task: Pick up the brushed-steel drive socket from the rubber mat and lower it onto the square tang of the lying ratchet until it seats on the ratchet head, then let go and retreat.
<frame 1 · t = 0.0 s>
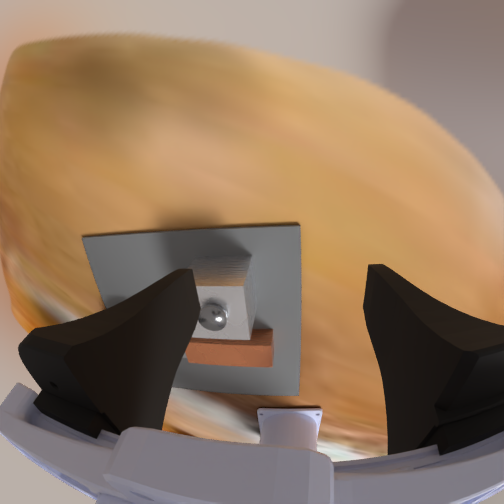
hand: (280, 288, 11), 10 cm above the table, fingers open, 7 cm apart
socket: (227, 281, 23), resting on mat
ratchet: (144, 333, 27), resting on mat
mat: (195, 328, 26), on the table
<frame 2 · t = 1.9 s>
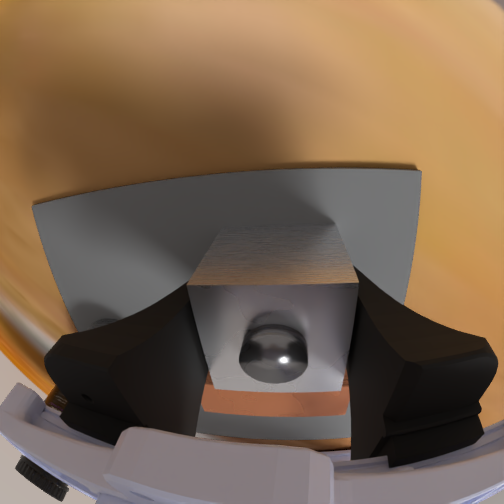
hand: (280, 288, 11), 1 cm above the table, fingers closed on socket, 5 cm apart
supplement bottle: (90, 394, 21), on the table
socket: (281, 275, 12), resting on mat, touching gripper
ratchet: (130, 359, 16), resting on mat
mat: (214, 355, 15), on the table
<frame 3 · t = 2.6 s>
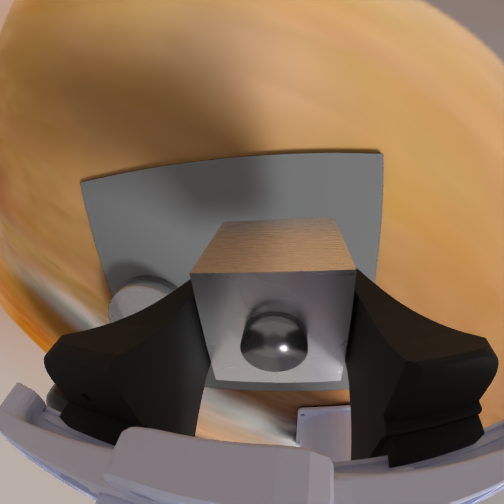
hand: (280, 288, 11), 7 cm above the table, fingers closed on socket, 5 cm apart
supplement bottle: (111, 359, 26), on the table
socket: (280, 268, 13), point 5 cm above the table, touching gripper
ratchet: (157, 313, 21), resting on mat
mat: (230, 303, 20), on the table
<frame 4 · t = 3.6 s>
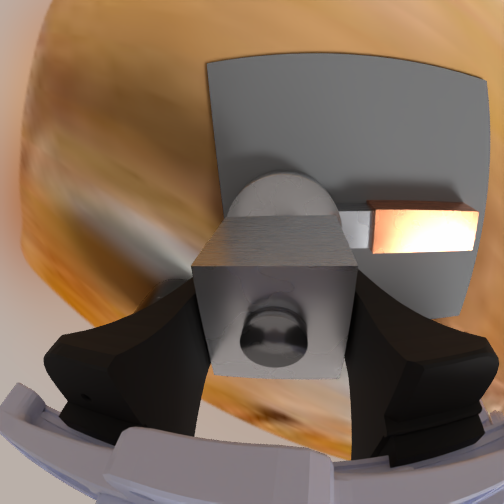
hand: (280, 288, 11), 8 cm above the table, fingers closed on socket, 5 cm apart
supplement bottle: (186, 308, 23), on the table
socket: (281, 265, 13), point 7 cm above the table, touching gripper
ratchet: (284, 222, 18), resting on mat
mat: (372, 204, 17), on the table
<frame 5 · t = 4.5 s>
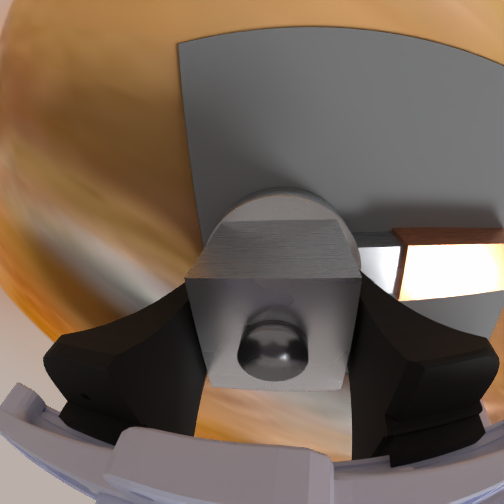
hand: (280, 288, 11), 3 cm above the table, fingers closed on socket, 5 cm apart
socket: (280, 271, 12), point 2 cm above the table, touching gripper, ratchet
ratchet: (283, 256, 14), resting on mat
mat: (398, 232, 13), on the table
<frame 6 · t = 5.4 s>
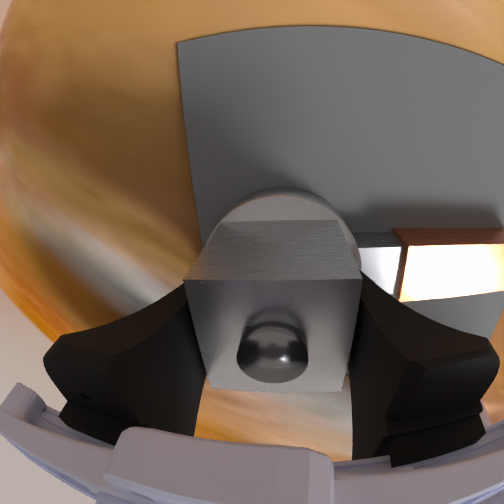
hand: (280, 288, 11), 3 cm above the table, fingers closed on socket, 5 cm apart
socket: (280, 272, 12), point 2 cm above the table, touching gripper, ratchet
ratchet: (282, 256, 14), resting on mat
mat: (399, 233, 13), on the table
when the fingers open (3 cm above the table, at t = 5.4 s): socket stays where it is, resting on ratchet.
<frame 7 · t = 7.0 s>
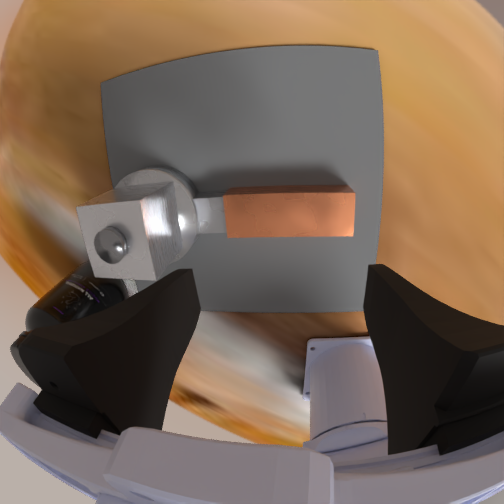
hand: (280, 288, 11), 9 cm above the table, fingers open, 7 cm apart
supplement bottle: (103, 287, 25), on the table
socket: (148, 216, 18), point 2 cm above the table, touching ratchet
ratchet: (160, 211, 20), resting on mat
mat: (238, 191, 19), on the table
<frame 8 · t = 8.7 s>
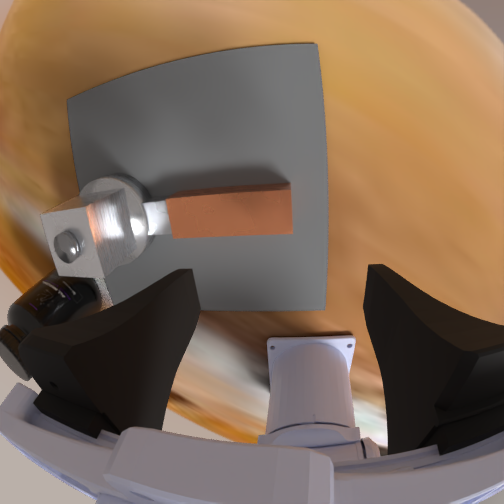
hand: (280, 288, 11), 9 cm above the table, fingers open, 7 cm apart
supplement bottle: (80, 287, 26), on the table
socket: (106, 220, 19), point 2 cm above the table, touching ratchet
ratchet: (120, 215, 21), resting on mat
mat: (186, 194, 20), on the table
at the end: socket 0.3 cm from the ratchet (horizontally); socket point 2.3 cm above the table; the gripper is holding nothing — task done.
